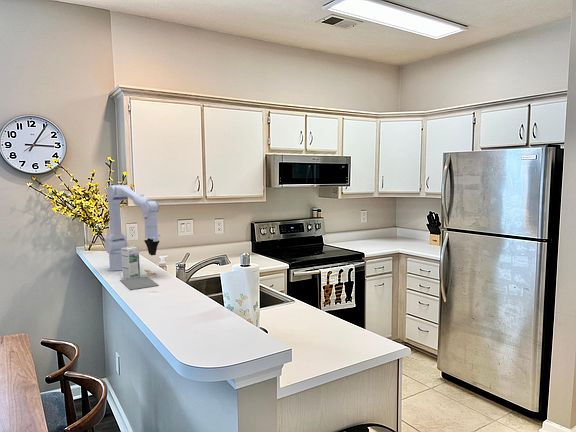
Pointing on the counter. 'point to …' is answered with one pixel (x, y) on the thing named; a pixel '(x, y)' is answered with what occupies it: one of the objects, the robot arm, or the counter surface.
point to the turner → (150, 272)
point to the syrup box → (130, 262)
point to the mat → (138, 283)
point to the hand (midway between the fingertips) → (152, 254)
